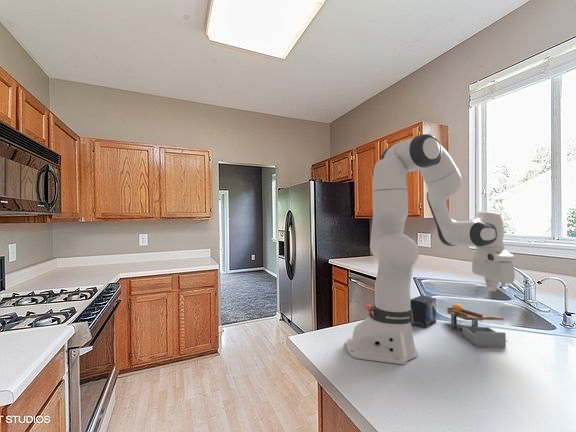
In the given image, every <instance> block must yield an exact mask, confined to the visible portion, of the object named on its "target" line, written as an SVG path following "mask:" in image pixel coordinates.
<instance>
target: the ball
mask: <svg viewBox="0 0 576 432" xmlns="http://www.w3.org/2000/svg"><path fill="white" fill-rule="evenodd" d="M451 308H453V310H455V311H458V312H461V311H462V308H463V307H462V305H461V304H460V303H454V304H452V307H451Z"/></svg>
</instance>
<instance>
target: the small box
mask: <svg viewBox="0 0 576 432" xmlns="http://www.w3.org/2000/svg"><path fill="white" fill-rule="evenodd" d="M411 309H412V313H413V326H416V327H419V328H423V329H426V328H428V327H430V326H433V325H435V324H437V298H436V297H431V296H427V295H423V294H422V295H419V296H416V297H413V298H411Z"/></svg>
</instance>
